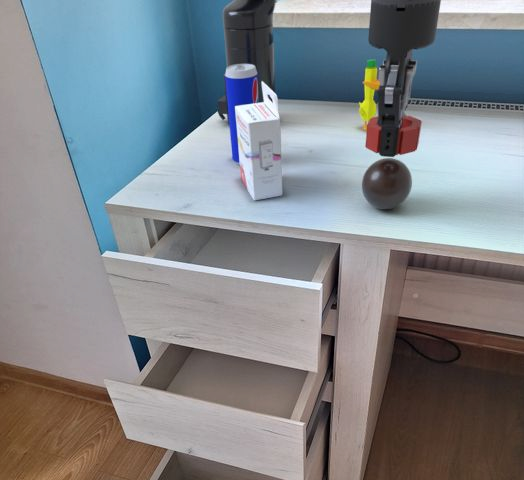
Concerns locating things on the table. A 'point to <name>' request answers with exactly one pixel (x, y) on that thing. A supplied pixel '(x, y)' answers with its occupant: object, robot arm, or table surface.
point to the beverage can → (239, 96)
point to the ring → (407, 135)
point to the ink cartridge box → (260, 146)
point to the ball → (386, 183)
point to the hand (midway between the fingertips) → (388, 152)
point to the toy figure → (369, 92)
